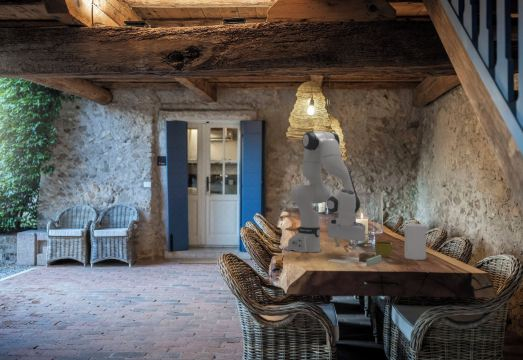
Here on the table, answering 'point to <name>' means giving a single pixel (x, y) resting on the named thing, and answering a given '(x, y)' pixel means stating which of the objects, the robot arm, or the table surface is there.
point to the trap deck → (367, 263)
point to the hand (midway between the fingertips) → (345, 247)
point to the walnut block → (365, 256)
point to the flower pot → (383, 249)
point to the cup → (415, 241)
